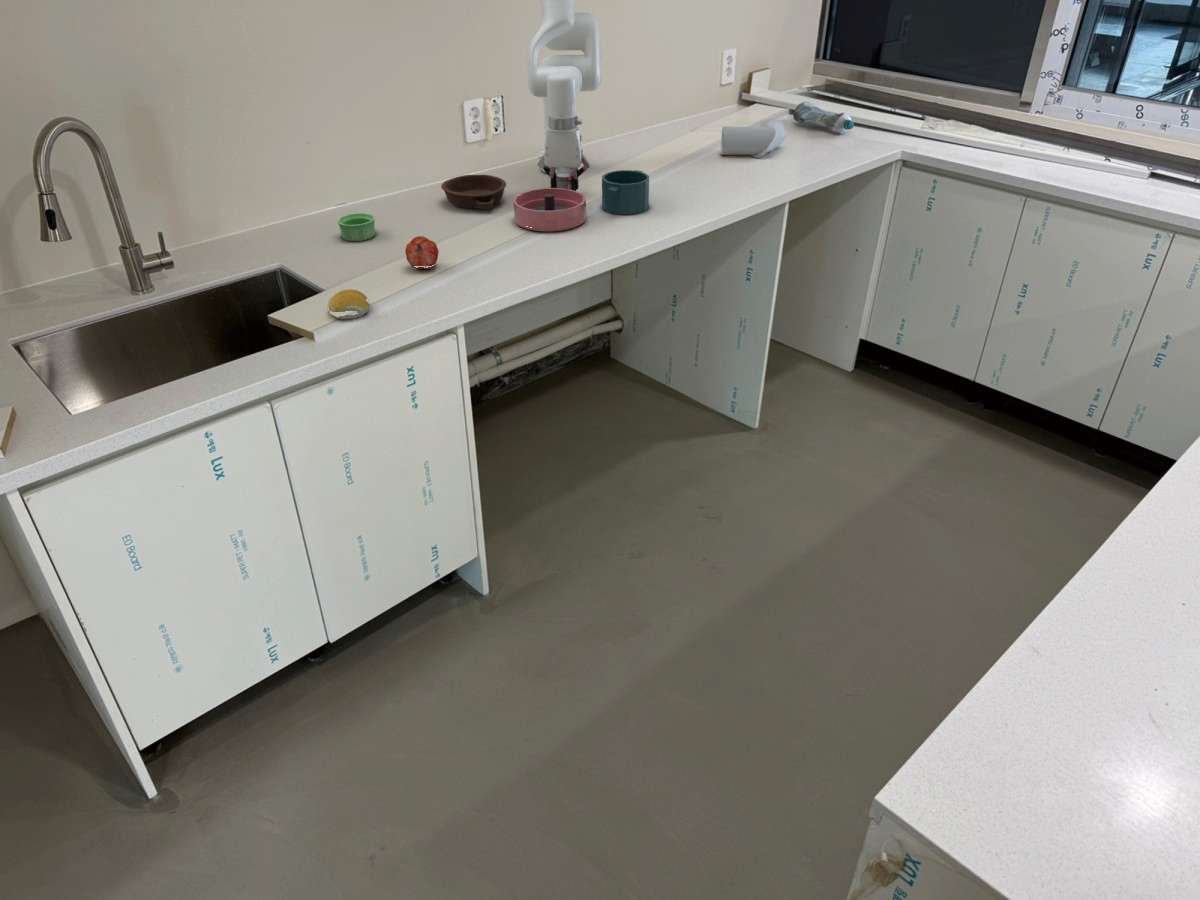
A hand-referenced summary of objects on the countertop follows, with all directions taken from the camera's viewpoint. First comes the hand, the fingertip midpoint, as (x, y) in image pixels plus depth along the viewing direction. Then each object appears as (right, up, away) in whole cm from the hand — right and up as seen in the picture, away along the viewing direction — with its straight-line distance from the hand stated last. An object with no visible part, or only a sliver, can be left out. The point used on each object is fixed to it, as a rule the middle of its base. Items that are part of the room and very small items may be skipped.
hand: (564, 190), depth 233 cm
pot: (+17, -7, -7) cm, 19 cm away
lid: (-3, -11, -16) cm, 20 cm away
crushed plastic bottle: (+87, +39, +57) cm, 111 cm away
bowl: (-3, -12, -15) cm, 20 cm away
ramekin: (-50, -19, -23) cm, 59 cm away
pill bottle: (0, -1, +1) cm, 2 cm away
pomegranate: (-31, -30, -40) cm, 59 cm away
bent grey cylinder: (+57, +23, +34) cm, 70 cm away
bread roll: (-42, -43, -59) cm, 84 cm away
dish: (-24, -4, -3) cm, 25 cm away
